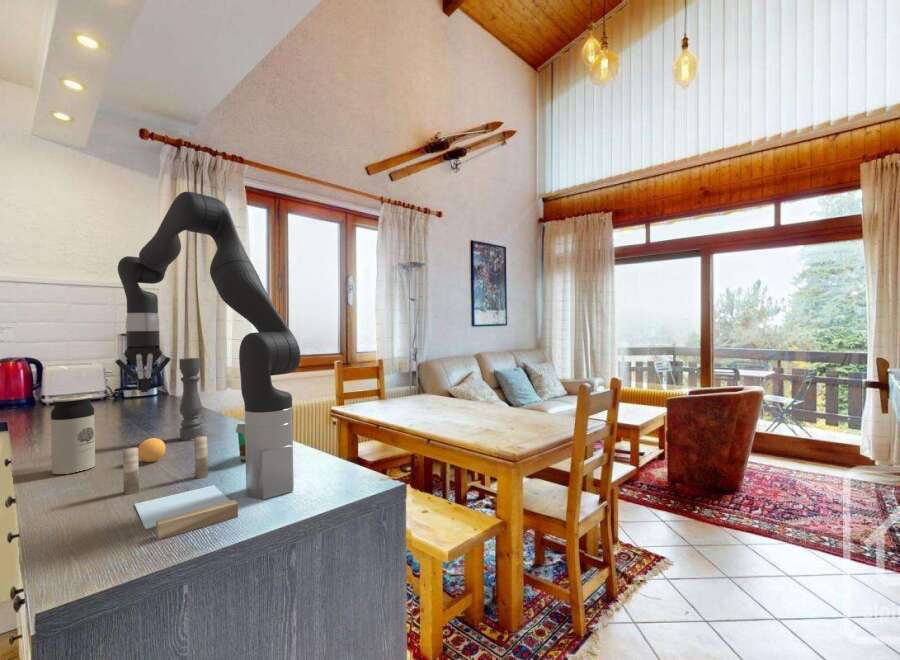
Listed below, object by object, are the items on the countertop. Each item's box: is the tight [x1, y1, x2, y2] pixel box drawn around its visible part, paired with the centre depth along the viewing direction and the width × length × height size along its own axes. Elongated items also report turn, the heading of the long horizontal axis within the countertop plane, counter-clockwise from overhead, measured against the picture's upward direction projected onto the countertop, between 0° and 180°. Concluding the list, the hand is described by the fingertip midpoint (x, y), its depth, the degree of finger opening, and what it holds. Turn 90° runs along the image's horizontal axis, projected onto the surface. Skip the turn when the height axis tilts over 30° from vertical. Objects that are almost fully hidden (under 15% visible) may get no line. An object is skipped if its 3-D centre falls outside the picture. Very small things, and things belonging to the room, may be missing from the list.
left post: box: [122, 446, 140, 495], centre depth 90 cm, size 3×3×9 cm
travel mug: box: [50, 394, 96, 475], centre depth 105 cm, size 8×8×18 cm
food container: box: [235, 423, 246, 463], centre depth 113 cm, size 12×6×10 cm, turn 168°
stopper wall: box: [155, 499, 239, 541], centre depth 74 cm, size 2×12×2 cm, turn 133°
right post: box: [193, 435, 209, 479], centre depth 99 cm, size 3×3×9 cm
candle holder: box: [178, 357, 204, 441], centre depth 134 cm, size 6×6×25 cm
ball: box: [137, 437, 167, 463], centre depth 111 cm, size 6×6×6 cm
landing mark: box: [134, 484, 231, 530], centre depth 83 cm, size 14×14×1 cm
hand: (144, 391), depth 119 cm, fingers closed
